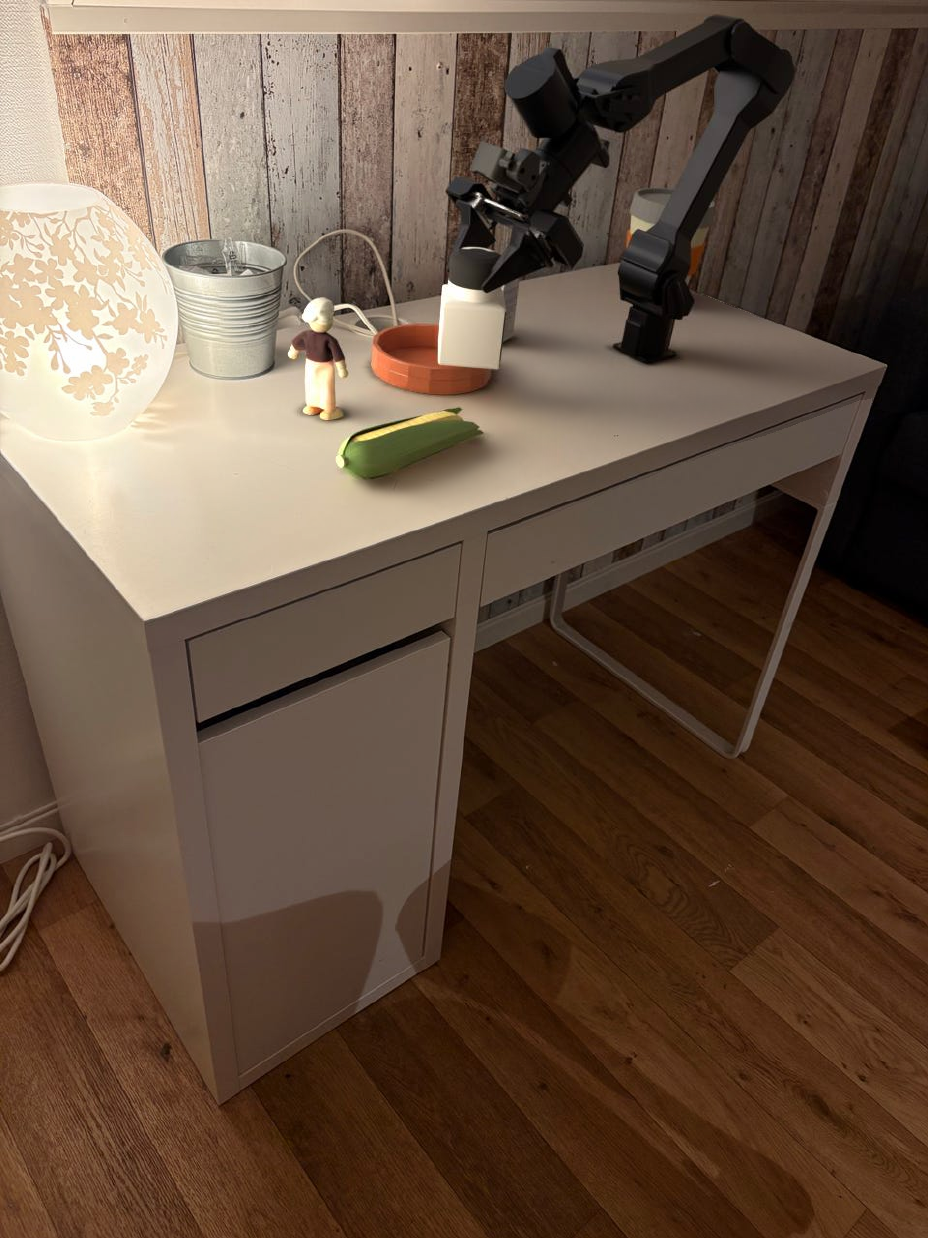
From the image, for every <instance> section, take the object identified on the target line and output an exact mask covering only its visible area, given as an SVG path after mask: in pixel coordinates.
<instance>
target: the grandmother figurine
mask: <svg viewBox="0 0 928 1238" xmlns="http://www.w3.org/2000/svg"><path fill="white" fill-rule="evenodd" d="M334 315H335V304H333V301H332V300H331V299H328V298H326V297H325V296H323V297H317V298H314V299H312V300H311V301H310V302H309V303H308V304H307V306H306V307H305V308H304V311H303V314H302V315H301V317H302V321H304V322H305V323H308V324H309V326H310V328H311V329H307V330H304V331H301V332H300V333H298V334H297V335H296V336H294V338H292V339H291V341H290V342H291V345H290V349H289V351H288V352H287V355H288V357H289V358H290V359H292V360H295V359H297V357H298V355H299V353H300V352H301V351H305V370H304V371H305V372H304V388H305V403H306V406H305V407H304V408H303V410H302V412H303V413H304V414H305V415H309V416H314V415H317V414H319V413H320V414H319V418H320V419H322V420H324V421H333V420H337V419H340V418H343V417H344V412H343V410H342V409H341V408H340V407H338V406H337V400H336V370H335V366H336V368H337V370H338V377H339V378H341V379H346V378H347V377H348V376H349V370H348V369H347V362H346V357H345V354H344V352H343V349H342V348H341V345H340V342H339V341H338V339H337V338H336V337H335V336H333V335H331V334H330V333H328V331H329V330H331V328H332V327H333V325H334Z"/></svg>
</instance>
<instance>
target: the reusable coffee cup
mask: <svg viewBox="0 0 928 1238" xmlns="http://www.w3.org/2000/svg"><path fill="white" fill-rule="evenodd" d="M674 189H675V188H674ZM674 189H673V188H666V187H664V188H663V187H644V188H640V189H636V190H635V191H634V195H633V198H632V201H631V206H630V209H629V214H630V215H631V216H630V217H631V218H630V228H628V230H627V236H626V248H627V247H628V244H629V242H630V239H631V237H632V234H633V233H634V232H635V231H636V230H637V229H640V230H643V231H647V230H648V229H650V228H651V227H652V226H654V225H655V224H656V223H657V222H658V220H659V218H660V216H661V214H662V212H663V210H664V208H665V206H666V205H667V203H668V201H669V199H670V197H671V195H672V193H673V191H674ZM715 207H716V203H715V202H714V200H712V202H711V204H710V206H709V208H708V210H707V212H706V214H705V216H704V218H703V219H702V221H701V223H700V225H699V227H698V229H697V231H696V233H695V235H694V236H693V238H692V241H691V268H690V270H689V273H688V275H687V277H686V280H685V281H686V283H687V285H688V286H689V283H690V280H691V278H692V275H694V274H696V271H697V269H698V266H699V263H700V260H701V258H702V255H703V252H704V249H705V247H706V244H707V243H706V241H705V238H706V236H707V235H708V231H709V228H710V227H711V226H713V221H714V214H715ZM626 248H625V249H626Z"/></svg>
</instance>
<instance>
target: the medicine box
mask: <svg viewBox="0 0 928 1238" xmlns="http://www.w3.org/2000/svg"><path fill="white" fill-rule="evenodd" d="M520 279H521V277H520V278H518V279H516V280H514V281H512V282H510V283H508V284H506V285H504V286H502V290H503V293H504V299H505V306H506V319H505V328H504V336H503V343H504V342H506V341H508V340H509V339H511V338H513V337H514V331H515V323H516V322H515V321H516V313H517V304H518V296H519V290H520V289H519V288H520V281H521V280H520Z"/></svg>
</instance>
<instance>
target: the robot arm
mask: <svg viewBox="0 0 928 1238" xmlns="http://www.w3.org/2000/svg"><path fill="white" fill-rule="evenodd" d="M795 69H796V68H795V64H794V63H793V55H792V54H791V52H790V51H789V50H788V49H786V48H783V47H782V48H781V47H780V46H779V45H777V44H775V43H774V42H773V41H771V40H770V39H768V38H767V37H765V36H763V35H762V34H761V33H759V32H758V31H756V30H755V29H754V27H752V25H751V24H750V23H749V22H747V21H746V19H743V18H741V17H737V16H731V15H725V14H720V13H716V14H713V15H710V16H708V17H707V18H706V19H704V21H703V22H702V23H700V24H698V25H696V26H695V27H692V28H690V29H689V30H687V31H685V32H683V33H681V34H679V35H677V36H676V37H674V38H672V39H669V40H668V41H666V42H664V43H662V44H660V45H659V46H656V47H655V48H653V49H651V50H649V51H647V52H645V53H643V54H641V55H639V56H638V57H633V58H625V59H614V60H608V61H607V60H606V61H604V62H601V63H596V64H592V65H588V66H587V67H586V68H585V69H583V70H582V71H581V72H580V74H579V75H578V76H576V77H573V75H572V72H571V71H570V68H569V67H568V64H567V60H566V57H565V54H564V52H563V51H562V48H559V47H558V48H557V47H553V46H550V45H547V46H546V47H545V48H544V49H543V50H542V52H541V53H538V54H535V55H532V56H530V57H528V58H526V59H525V60H523V61H522V62H521V63H519V64H517V65H515V66H513V68H512V69H511V70H510V72H509V73H508V75H507V76H506V79H505V82H504V92H505V94H506V96H507V98H508V99H509V101H510V102H511V104H512V105H513V106H512V107H514V109H515V111H516V112H517V114H518V116H519V117H520V120H521V121H522V123H523V124H524V126H525V127H526V129H527V131H528V133H529V135H530V136H531V137H532V138H535V139H542V140H541V142H540V143H539V144H538V146H537V147H536V148H535V149H534V150H530V149H528V148H525V147H521V148H519V149H518V150H517V152H516V153H515V152H513V151H510V150H507V149H505V148H503V147H500V146H498V145H495V144H492V143H489V142H486V141H483V140H481V141H480V143H479V146H478V148H477V151H476V153H475V156H474V158H473V160H472V163H471V165H470V168H469V169H468V170H469V172H471V173H472V174H474V175H480V176H481V177H482V178H484V179H486V180H488V181H489V182H491V184H489V188H490V190H491V192H492V194H493V195H495V196H497V198H498V199H497V200H496V201H495V199H494V198H493V197H492V195H491V193H489V190H488V189H487V188H486V186H485V185H484V184H483V182H480V181H478V180H475V179H472V178H471V177H467V176H465V175H463V176H455V177H454V178H453V180H452V181H451V182H450V183H449V185H448V186H447V187H446V189H445V194H446V195H447V196H448V198H449V199H450V201H451V202H452V203H453V205H454V206H455V208H456V209H457V210H458V211H459V214H460V225H459V228H458V229H459V230H458V232H457V236H456V240H455V242H454V245H453V249H452V250H451V254H452V253H453V252H454V251H456V250H458V249H461V248H465V247H480V248H486V249H489V247H491V246H492V245H493V244H494V243H495V242H496V241H497V239H496V237H495V236H494V235H493V233H492V232H491V230H493V229H495V228H496V226H497V225H498V224H500V225H502V226H504V227H507V228H509V229H511V234H510V239H509V243H508V245H507V247H506V248H505V249H504V251H503V252H502V253H501V254H500V255H501V256H500V258H499V259H498V261H497V262H496V263H495V265H494V266H493V268H492V269H491V270H490V272H489V273H488V275H487V276H486V278H485V280H484V281H483V283H482V285H481V289H482V290H483V292H485V293H489V292H491V291H493V290H495V289H497V288H499V287H502V286H504V285H506V284H508V283H510V282H512V281H514V280H516V279H518V278H520V279H521V278H522V277H524V276H527V275H530V274H532V273H534V272H535V273H536V272H537V271H540V270H543V269H544V268H548V269H552V268H553V267H554V266H555V265H554V263H555V264H556V265H558V266H561V267H563V268H565V269H568V270H570V271H572V270H573V268H575V266H576V265H577V264H578V263H579V261H580V260H581V259H582V257H583V253H584V247H585V244H584V242H583V241H582V239H581V237H580V236H579V234H578V232H577V230H576V229H575V227H574V226H573V224H572V223H571V221H570V219H569V218H568V216H566V215H564V214H561V213H559V212H556V211H555V210H556V209H557V208H558V207H559V206H563V207H566V208H568V207H569V206H570V204H571V203H572V202H573V197H572V196H571V195H570V193H569V192H571V190H572V189H573V187H574V186H575V185H576V183H577V182H578V181H579V180H580V179H581V177H582V176H583V175H584V174H585V172H586V171H587V170H588V169H589V167H590V166H591V164H592V165H593V166H594V165H595V166H598V167H601V168H604V169H607V168H609V166H610V153H609V147H610V141H609V140H607V139H604V138H601V137H600V135H599V133H598V131H597V130H596V127H599V128H602V129H605V130H608V131H612V132H614V133H617V134H624V133H626V132H627V133H628V132H629V131H631V130H632V129H633V128H634V127H636V126H637V125H638V124H640V123H641V122H642V121H643V120H644V119H645V118H647V117H648V116H649V115H650V114H651V112H652V110H653V109H654V106H655V104H656V102H657V100H659V99H660V98H662V97H663V96H664V95H666V94H668V93H670V92H672V91H673V90H676V89H677V88H679V87H680V86H683V85H684V84H686V83H687V82H690V81H692V80H694V79H695V78H697V77H699V76H701V75H702V74H704V73H706V72H708V71H710V70H714V71H715V72H716V74H717V77H716V79H715V81H714V82H715V83H714V86H713V95H714V96H713V100H714V101H713V102H714V103H713V105H714V106H713V107H714V109H713V113H712V115H711V117H710V119H709V121H708V123H707V125H706V127H705V129H704V130H703V133H702V134H701V137H700V139H699V140H698V142H697V144H696V146H695V148H694V151H693V152H692V153H691V156H690V158H689V160H688V162H687V164H686V166H685V168H684V170H683V172H682V173H681V176H680V177H679V179H678V182H677V183H676V185H675V187H674V191H673V193H672V195H671V197H670V199H669V201H668V203H667V205H666V206H665V208H664V210H663V212H662V214H661V216H660V218H659V220H658V222H657V223H656V224H655V225H654V226H652V227H651V228H650V229H648V230H647V231H643V230H640V229H637V230H636V231H635V232H634V233H633V234H632V237H631V239H630V242H629V244H628V247H627V248H625V249H624V251H623V253H622V254H621V255H620V257H619V259H621V261H620V263H619V265H618V269H617V275H618V288H619V299H620V300H621V301H623V302H626V303H628V304H630V305H632V306H629V308H628V309H629V310H628V315H627V319H626V320H625V324H624V329H623V333H622V339H621V341H620V342H615V343H613V345H612V349H615V350H617V351H619V352H621V353H624V354H625V355H628V356H629V357H632V358H633V359H636V360H638V361H640V362H642V363H645V364H650V363H654V362H658V361H662V360H666V359H671V358H675V357H677V354H678V352H677V351H675V350H673V349H671V348H670V344H671V340H672V336H673V331H674V327H675V323H676V320H677V321H682V320H683V318H684V317H688V316H689V315H690V313H691V310H692V309H693V306H694V304H695V301H696V300H695V298H694V295H693V293H692V291H691V289H690V288H689V284H688V285H687V283H686V281H685V280H686V277H687V275H688V273H689V270H690V268H691V241H692V238H693V236H694V235H695V233H696V231H697V229H698V227H699V225H700V223H701V221H702V219H703V218H704V216H705V214H706V212H707V210H708V208H709V206H710V204H711V202H712V201H714V199H715V197H716V195H717V193H718V191H719V189H720V187H721V185H722V183H723V182H724V180H725V178H726V176H727V174H728V172H729V170H730V168H731V166H732V165H733V162H734V161H735V159H736V157H737V155H738V153H739V151H740V149H741V148H742V146H743V144H744V142H745V140H746V138H747V136H748V134H749V133H750V131H751V130H752V129H754V128H755V127H756V126H757V125H759V124H760V123H761V122H764V121H765V119H767V118H768V117H770V116H771V115H772V114H773V113H774V112H775V110H776V109H777V107H778V106H779V105H780V103H781V101H782V100H783V98H784V97H785V95H786V94H787V93H788V91H789V89H790V88H791V86H792V84H793V81H794V78H795V73H796V70H795ZM451 254H450V255H451ZM552 259H553V261H552ZM449 267H450V258H449V259H448V263H447V265H446V267H445V270H446V272H447V274H449Z"/></svg>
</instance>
